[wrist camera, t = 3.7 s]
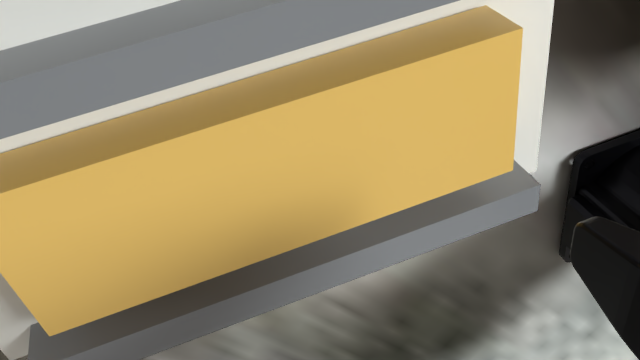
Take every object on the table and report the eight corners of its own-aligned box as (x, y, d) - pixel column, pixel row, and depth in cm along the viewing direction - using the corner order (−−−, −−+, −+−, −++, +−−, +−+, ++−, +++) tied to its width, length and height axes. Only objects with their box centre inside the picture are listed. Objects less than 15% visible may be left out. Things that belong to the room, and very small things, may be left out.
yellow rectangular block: (485, 5, 14) (523, 27, 12) (482, 141, 16) (512, 170, 15) (-36, 164, 12) (-50, 209, 11) (52, 289, 14) (49, 336, 13)
